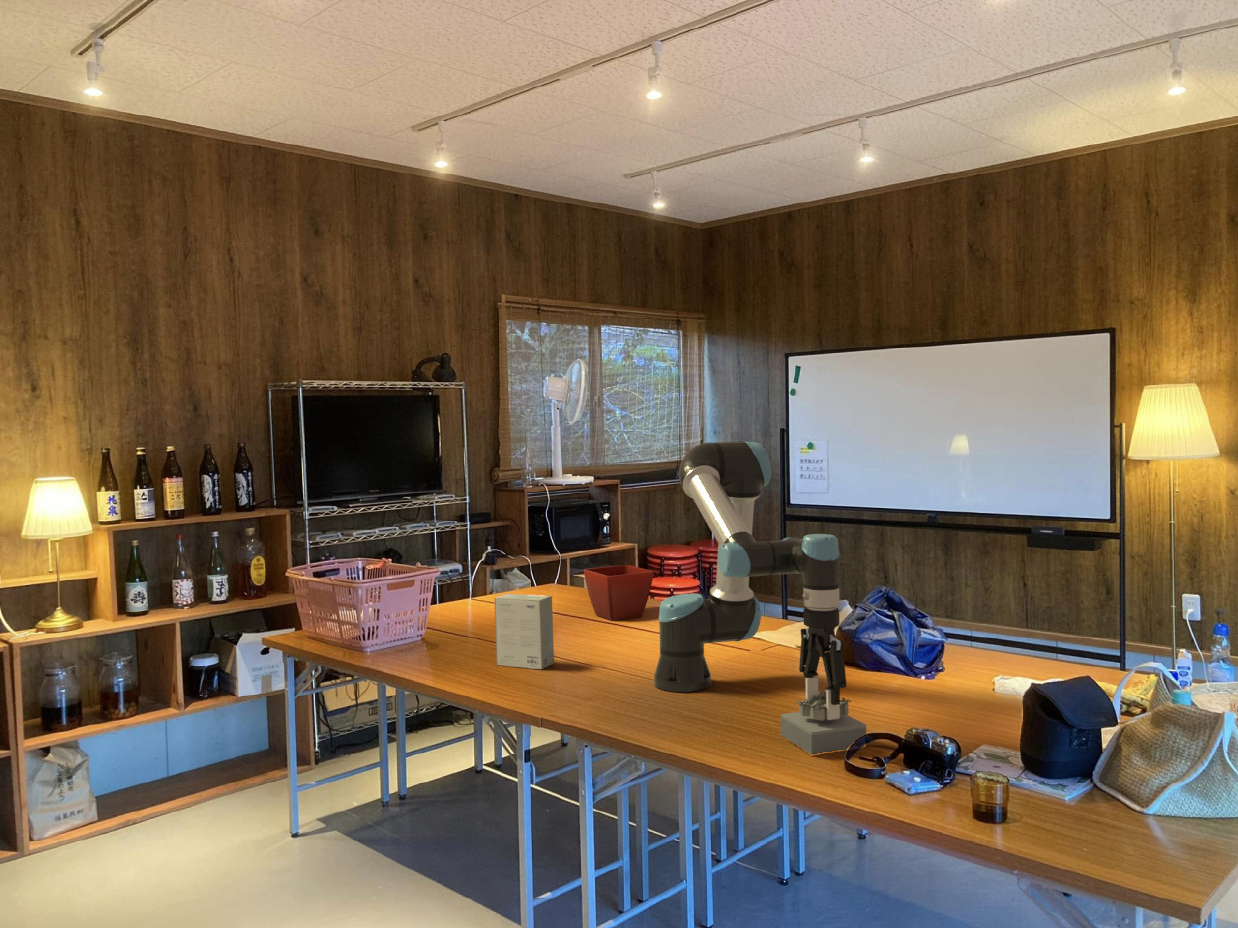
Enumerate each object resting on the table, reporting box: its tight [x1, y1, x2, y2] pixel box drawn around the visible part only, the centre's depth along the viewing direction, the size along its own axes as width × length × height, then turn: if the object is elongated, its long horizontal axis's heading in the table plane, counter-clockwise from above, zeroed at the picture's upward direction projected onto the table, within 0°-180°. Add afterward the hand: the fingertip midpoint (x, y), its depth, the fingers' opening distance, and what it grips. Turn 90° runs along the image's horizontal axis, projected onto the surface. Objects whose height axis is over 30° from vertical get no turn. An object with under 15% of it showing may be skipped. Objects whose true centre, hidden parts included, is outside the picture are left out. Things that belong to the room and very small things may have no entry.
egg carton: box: [796, 689, 853, 721], centre depth 200 cm, size 11×8×4 cm
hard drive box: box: [494, 593, 555, 670], centre depth 271 cm, size 16×8×20 cm, turn 65°
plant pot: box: [583, 564, 654, 622], centre depth 337 cm, size 19×19×17 cm
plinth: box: [780, 711, 867, 754], centre depth 200 cm, size 13×13×5 cm
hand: (822, 712), depth 200 cm, fingers closed on egg carton, 8 cm apart
